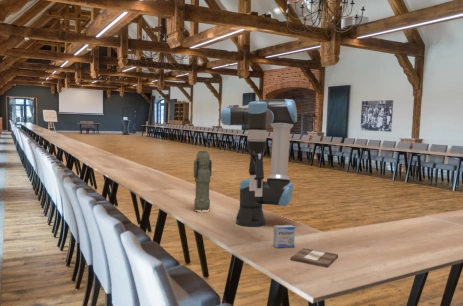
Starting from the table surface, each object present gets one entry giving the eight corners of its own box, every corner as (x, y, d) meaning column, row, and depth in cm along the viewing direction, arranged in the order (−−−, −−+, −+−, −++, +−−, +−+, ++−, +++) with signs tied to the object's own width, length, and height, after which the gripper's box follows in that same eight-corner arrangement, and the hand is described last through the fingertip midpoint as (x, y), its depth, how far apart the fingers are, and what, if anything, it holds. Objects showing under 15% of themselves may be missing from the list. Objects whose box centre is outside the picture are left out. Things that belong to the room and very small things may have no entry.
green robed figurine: (214, 210, 233) (215, 151, 231) (199, 213, 224) (200, 152, 222) (204, 208, 239) (205, 150, 237) (189, 211, 230) (190, 151, 228)
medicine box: (276, 248, 162) (277, 227, 162) (272, 245, 166) (273, 225, 166) (294, 247, 164) (295, 226, 164) (290, 244, 169) (290, 224, 168)
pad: (303, 250, 160) (303, 247, 160) (337, 256, 153) (338, 253, 153) (290, 260, 148) (290, 256, 148) (327, 267, 141) (327, 263, 141)
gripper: (242, 139, 170) (241, 188, 171) (252, 141, 145) (251, 199, 146) (260, 139, 170) (258, 188, 172) (272, 142, 146) (271, 199, 147)
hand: (255, 193), depth 159 cm, fingers open, 13 cm apart
